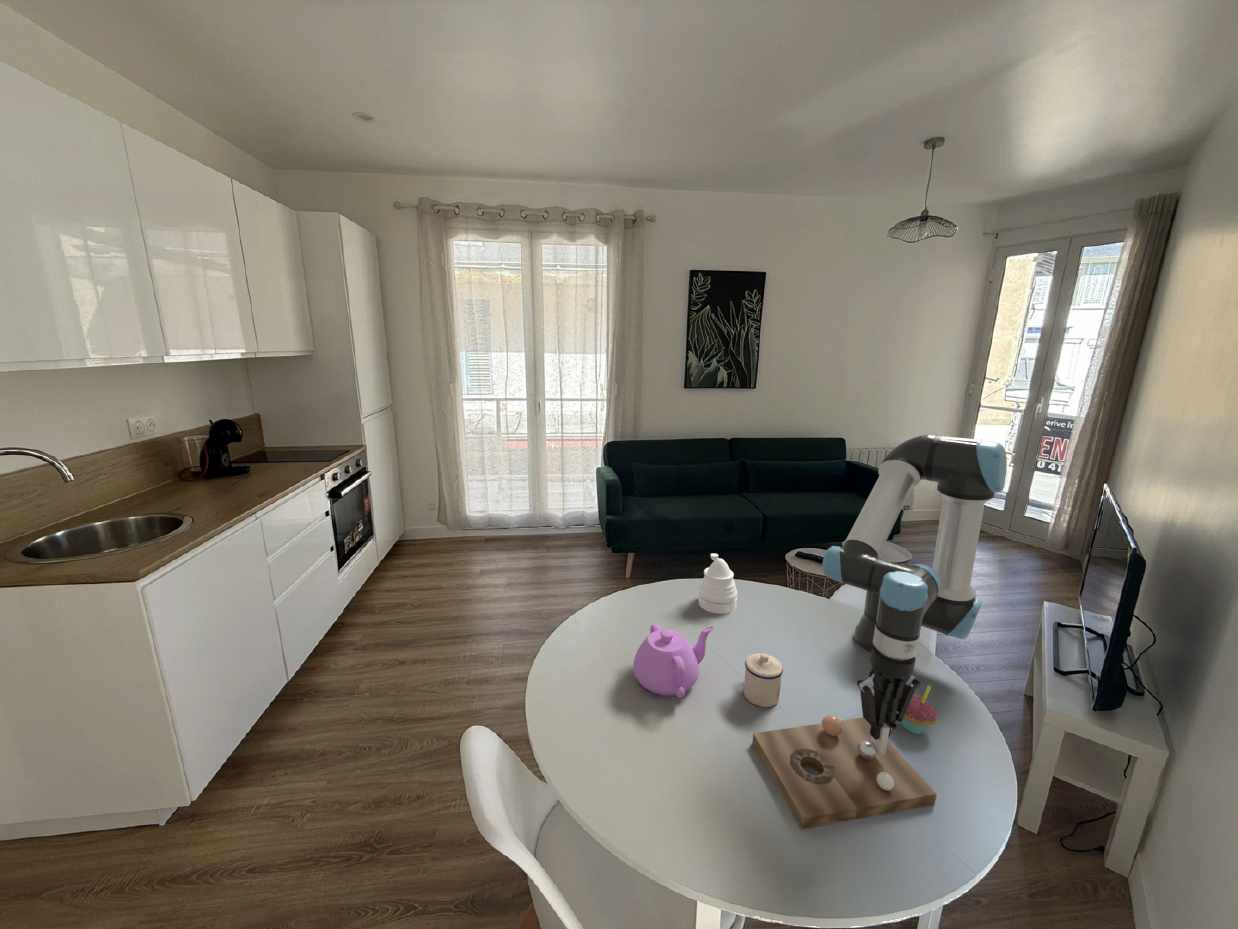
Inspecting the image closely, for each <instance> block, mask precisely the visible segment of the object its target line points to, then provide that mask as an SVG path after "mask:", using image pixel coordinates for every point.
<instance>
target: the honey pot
mask: <svg viewBox="0 0 1238 929" xmlns="http://www.w3.org/2000/svg"><path fill="white" fill-rule="evenodd" d="M710 558H711V560H712V561H713V562H712V563H711V564H710V566H709V567H706V568H704V570H703V574H704V577H703V578H702V581H701V584H700V585H699V589H698V590H699V591H698V600H697V601H698V605H699V606H700V607H701V608H702V609H703V610H704V611H707V612H709V613H713V614H719V615H720V614H723V615H724V614H730V613H733V612H734V611H735V610H736V609H737V603H738V590H737V587H736V582H735V579H734V575H735V574H734V571H732V570H731V569H730V567H729V565H728V563H727V562H726V561H725V560H724V559H723V558H720V557H719V554H718V553H714V552H713V553H710Z"/></svg>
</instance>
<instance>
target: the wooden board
mask: <svg viewBox="0 0 1238 929" xmlns="http://www.w3.org/2000/svg"><path fill="white" fill-rule="evenodd" d="M840 721H841V723H842V726H843V729H842V732H841V734H839V735H838V736H830V735H828V734H827V733H826V732H825V731H824V729H823V727H822V722H821V723H815V724H809V725H801V726H794V727H789V728H788V727H787V728H781V729H775V730H767V731H766V730H765V731H759V732H753V735H752V744H753V746H754V748H755V750H756V752H757V753H758V755H759V757H760V758H761V761H762V762H763V764H764V765H765V767H766V769H767V771H768V773H769V774H770V776H771V777H772V780H773V781H774V782H775V785H776V786H777V788H778V790H779V791H780V793H781V795H782V797H783V798H784V800H785V802H786V804H787V806H788V808H789V809H790V811H791V812H792V816H794V819H795V820H796V822H797V823H798V825H799V827H800V828H801V830H805V829H812V828H815V827H822V826H827V825H833V824H837V823H838V824H839V823H843V822H844V823H845V822H848V821H853V820H859V819H864V818H868V817H869V818H870V817H874V816H875V817H876V816H880V815H886V814H891V813H896V812H900V811H901V812H902V811H907V810H912V809H917V808H923V807H927V806H934V805H936V799H937V792H936V791H935V790H934V789H933V788H932V787H931V786H930V785H929V783H927V782H926V780H925V779H923V777H922V776H921V775H920V774H919V773H918V772H917V771H916V769H914V767H913V766H912V765H911V764H910V763H909V762H908V761H907V760H906V759H905V758H904V756H903V755H902V754H901V753H900V752H899V751H898V750H897V749H896V748H895V747H894V746H893V744H892V743H891V742H890V741H889V740H888V742H887V748H886V754H884V755H878V754H877V752H876V756H875V758H874V759H872V760H866V759H864V758H862V757H861V756H860V754H859V753H858V749H857V747H858V744H859V743H860V742H861V741H864V740H865V741H869V742H871V735H870V728H871V725H870V724H869V723H868V722H867V721H866V720H865V719H864V718H863V716H862V717H855V718H850V719H849V718H848V719H840ZM804 767H808V768H813V769H815V770H816V771H817V772H819V774H817V775H815V774H811V773H809V772H807V771H806V770H805V769H804ZM880 772H886V773H888V774H889V775H890V776H891V777H892V778H893V780H894V787H893V788H892V789H891V790H888V791H887V790H883V789H882V788H881V787H880V786H879V785H878V783H877V780H876V778H877V775H878V774H879V773H880Z"/></svg>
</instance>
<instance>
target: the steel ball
mask: <svg viewBox="0 0 1238 929" xmlns="http://www.w3.org/2000/svg"><path fill="white" fill-rule="evenodd" d="M857 749H858V753H859V754H860V756H861V757H862V758H864V759H866V760H872V759H874V758H875V756H876V748H875V746H874V745H873V744H872V743H871V742H869V741H865V740H864V741H861V742H860V743H859V744H858V747H857Z"/></svg>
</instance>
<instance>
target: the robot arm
mask: <svg viewBox="0 0 1238 929" xmlns="http://www.w3.org/2000/svg"><path fill="white" fill-rule="evenodd" d="M1007 460H1008V459H1007V452H1006V449H1005V447H1004V446H1003V445H1002V444H1001V443H998V442H995V441H989V440H988V441H987V440H983V439H977V438H976V439H975V438H965V437H956V436H955V437H954V436H943V435H938V434H923V435H918V436H914V437H912V438H910V439H907V440H905V441H903V442H902V443H899V444H898V445H897V446H895V447H894V448H893V449H892V450H890V451H889V452H888V454H887V455H886V456H885V457H884V458H883V460H882V461H881V463H880V465H879V467H878V470H877V471H878V475H879V476H878V477H877V478H878V479H877V480H876V481H875V484H874V486H873V488H872V489H871V492H870V493H869V495H868V497H867V499H866V500H865V503H864V505H863V507H862V508H861V511H860V513H859V514H858V516H857V518H856V520H855V521H854V524H853V526H852V528H851V529H850V531H849V533H848V535H847V537H846V538H845V541H844V543H843V545H842V547H841V546H836V545H832V546H829V548H827V550H826V551H825V553H824V555H823V560H822V572H823V574H824V576H825V577H827V578H829V579H832V580H833V581H836V582H837V583H841V584H845V585H847V586H851V587H855V588H858V589H861V590H863V591H866V596H865V601H864V602H865V603H864V608H863V609H864V610H863V615H862V616H861V617H860V620H859V622H858V624H857V625H855V628H854V634H853V639H854V641H855V642H856V644H858V645H859V646H860V647H861V648H862V649H863V650H865V651H867V652H869V653H870V665H871V669H870V671H869V673H868V678H866V679H865V680H864V681H863V680H862V679H858V680H857V681H856V685H857V687H858V688H859V690H860V702H861V710H862V711H861V712H862V717H863V718H864V719H865V720H866V721H867V722H868V723H869V724H870V725H871V728H870V735H871V743H872V744H873V745H874V746H875V748H876V752H877V754H878V755H884V754H886V748H887V742H888V741H889V738H890V737H891V735H892V729H893V730H896V729H897V728H898V725H897V724H896V722H898V723H901V722H902V721H903V718H904V716H905V713H906V711H907V708H908V706H909V704H910V701H911V699H912V696H913V695H915V694H914V693H915V691H916V690H917V689H918V687H919V686H920V685H921V681H920V680H919V679H918V678H916V676H914V671H915V664H916V657H917V652H918V646H919V641H920V635H921V629H922V627H924V628H927V629H929V630H932V631H935V632H938V633H942V634H943V635H945V636H946V637H952V638H955V639H959V640H965V639H967V638H969V636H970V633H971V630H972V628H973V626H974V624H975V621H976V619H977V617H978V615H979V613H980V610H981V606H982V604H983V601H982V600H981V599H979V598H978V597H977V590H976V589H975V587H974V586H972V585H971V583H972V577H973V570H974V567H975V566H974V565H975V561H976V555H977V550H978V549H977V548H978V542H979V538H980V537H979V536H980V530H981V526H982V522H983V521H982V520H983V515H984V510H985V503H987V502H988V501H989V502H990V501H991V500H993V499H994V498H995V495H996V494H997V493H1001V492H1003V490H1004V488H1005V484H1006V477H1007V467H1008V466H1007V465H1008V464H1007ZM922 480H923V481H924V480H925V481H930V482H935V483H937V486H936V491H937V492H938V493H939V495H941V496H942V501H941V509H940V514H939V522H938V528H937V535H936V541H935V542H936V543H935V547H934V548H935V549H934V554H933V563H932V567H930V566H929V565H926V564H924V563H922V564H921V563H914V564H910V565H907V566H905V565H903V564H899V563H895V562H892V561H888V560H884V559H881V558H879V557H880V555H881V553H882V551H883V548H884V546H885V544H886V542H887V540H888V539H889V536H890V534H891V533H892V530H893V528H894V525H895V523H896V521H897V519H898V517H899V514H900V513H901V510H902V508H903V506H904V505H905V503H906V500H907V498H908V496H909V494H910V491H911V489H912V488H915V487H917V486H918V485H919V483H920V482H921V481H922ZM897 711H898V712H899V713H898V712H897Z"/></svg>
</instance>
